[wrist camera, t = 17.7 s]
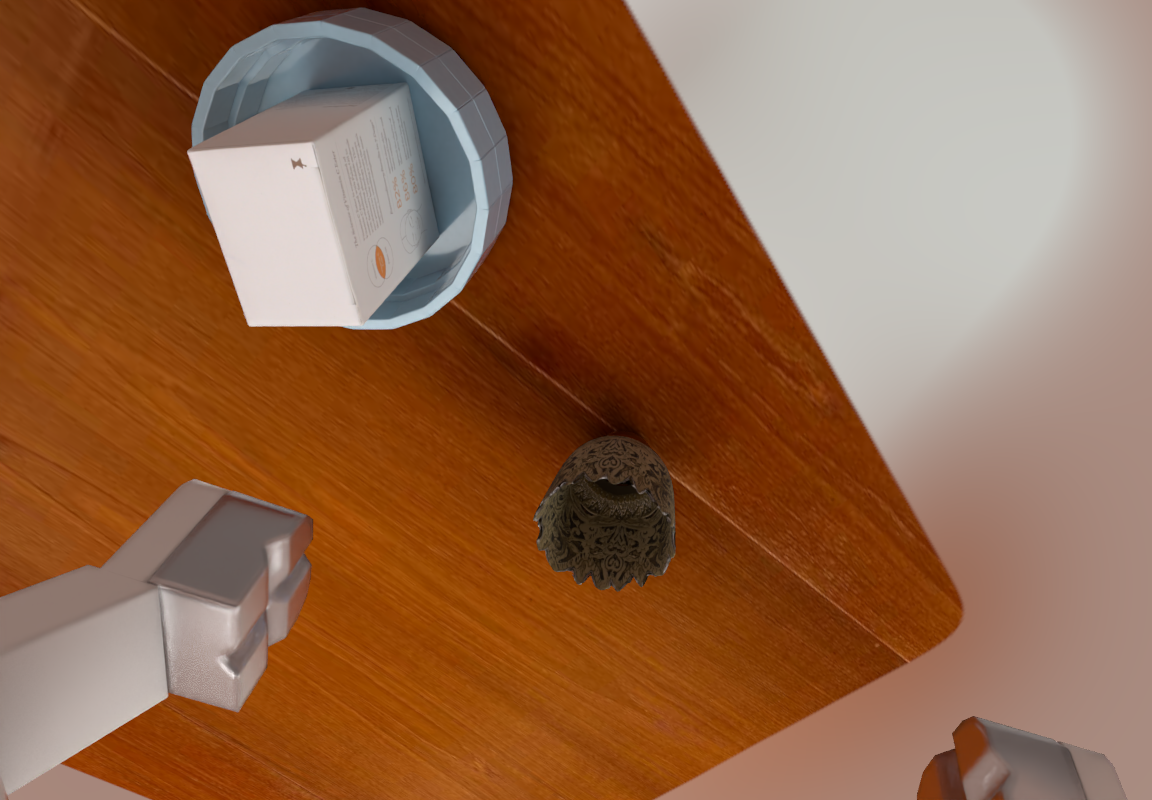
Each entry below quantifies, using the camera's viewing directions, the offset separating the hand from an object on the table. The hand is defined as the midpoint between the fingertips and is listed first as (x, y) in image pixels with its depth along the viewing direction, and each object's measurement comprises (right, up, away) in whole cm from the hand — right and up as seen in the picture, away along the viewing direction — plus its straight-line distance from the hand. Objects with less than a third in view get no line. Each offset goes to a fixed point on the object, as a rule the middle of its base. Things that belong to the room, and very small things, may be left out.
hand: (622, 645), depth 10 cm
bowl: (-11, +15, +33) cm, 38 cm away
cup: (+2, 0, +39) cm, 40 cm away
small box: (-11, +15, +32) cm, 37 cm away
